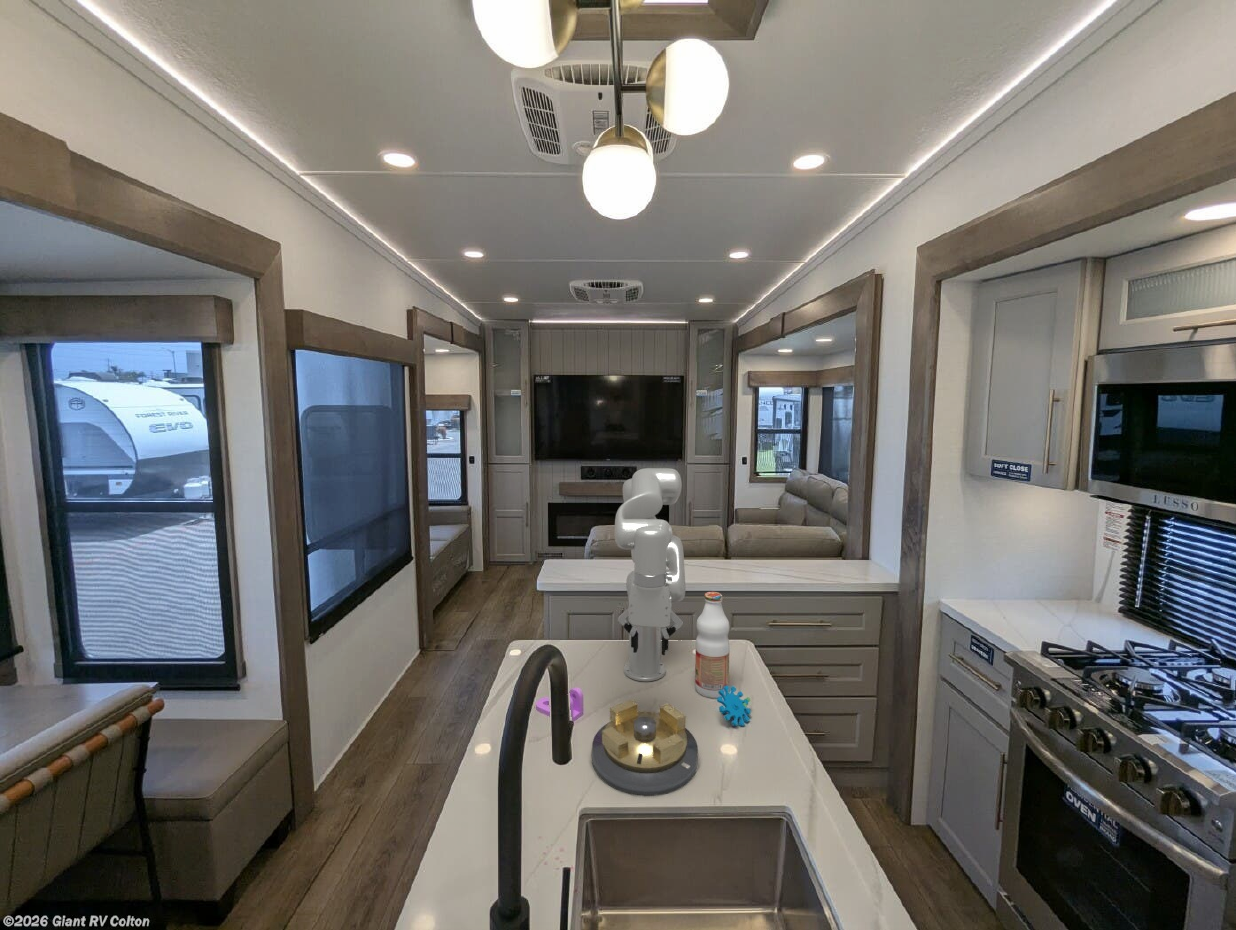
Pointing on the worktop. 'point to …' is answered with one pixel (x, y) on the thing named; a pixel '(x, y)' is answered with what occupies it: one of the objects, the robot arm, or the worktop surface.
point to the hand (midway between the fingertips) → (649, 650)
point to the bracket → (575, 704)
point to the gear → (734, 706)
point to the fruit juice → (712, 648)
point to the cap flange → (639, 780)
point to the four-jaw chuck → (645, 737)
